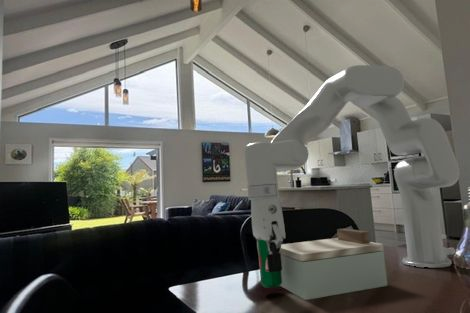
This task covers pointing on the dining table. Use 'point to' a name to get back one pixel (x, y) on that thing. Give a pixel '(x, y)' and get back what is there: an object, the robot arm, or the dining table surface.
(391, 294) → the dining table surface
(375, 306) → the dining table surface
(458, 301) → the dining table surface
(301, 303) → the dining table surface
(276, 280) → the soda can
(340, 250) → the lid
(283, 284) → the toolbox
